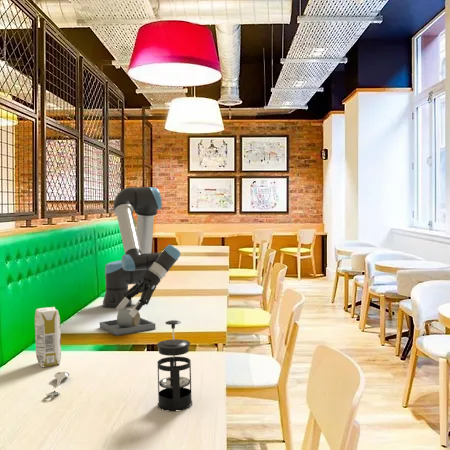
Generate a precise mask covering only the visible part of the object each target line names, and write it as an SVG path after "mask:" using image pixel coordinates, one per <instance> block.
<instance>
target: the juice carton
mask: <svg viewBox="0 0 450 450" xmlns="http://www.w3.org/2000/svg"><path fill="white" fill-rule="evenodd" d="M59 313H60V312H59V310H58V309H56V307H55V306H50V307H48V306H47V307H40V308H36V309H35V315H34V330H35V331H34V335H35V338H34V339H35V355H36V360H37V363H38V364H39V365H40V368H44V367H43V366H49V367H52V366H51V365H55V366H58V365H57V364H61V360H62V344H61V343H62V339H61V337H62V335H61V317H60V314H59Z"/></svg>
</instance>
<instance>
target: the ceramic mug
mask: <svg viewBox="0 0 450 450" xmlns="http://www.w3.org/2000/svg"><path fill="white" fill-rule="evenodd" d="M131 310H132V309H126V308H124V309H120V310H119V311H118V312H117V316H116V320H117V324H118V326H120V327H134V326H138V324H139V323H140V318H141V314H140V311H138V313H137V314H136V315H135V316H134V318H133V317H132V316H131V315H129V312H130V311H131Z"/></svg>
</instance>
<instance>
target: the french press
mask: <svg viewBox="0 0 450 450" xmlns="http://www.w3.org/2000/svg"><path fill="white" fill-rule="evenodd" d="M181 323H182V321H180V320H176V319H175V320H174V319H171V320H167V321H165V324H166V325H169V326H170V325H171V329H172V339H166V340H161V341H159V342H157V344H156V346H157V348H158V354H160V355H162V356H168V357H164V358H160V359H158V361H157V388H158V390H157V392H158V394H157V395H158V397H157V399H158V403H157V407H158V408H159V409H160V410H162V409H163V410H162V411H165V410H169V411H168V412H177V411H176V410H181V411H184V410H183V409H185V410H187V409H186V408H188V409H189V407H190V406H191V405H192V406H193V400H192V372H191V371H192V369H191V368H192V364H191V359H190V358H188V357H184V356H181V355H184V354H187V353H189V346H190V345H191V342H190V341H189V340H186V339H179V338H177V339H176V338H175V329H176V325H180V324H181ZM177 362H183V363H185V364H182V365H177ZM166 363H169V365H163V364H166ZM187 369H189V378H188V377H184V376H181V375H180V371H185V370H187ZM160 370H161V371H162V372H163V371H164V372H169V374H170V376H168V377H164V378H162V379H160V372H159V371H160ZM187 386H189V388H187ZM160 387H161V388H163V389H161V390H160ZM192 406H191V407H192ZM191 407H190V408H191Z"/></svg>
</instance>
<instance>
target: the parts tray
mask: <svg viewBox="0 0 450 450" xmlns="http://www.w3.org/2000/svg"><path fill="white" fill-rule="evenodd" d="M99 328H100V329H102V330H103V331H105V330H106V332H107V331H108V333H110V334H112V335H114V336H115V337H119V336H125V335H129V334H135V333H142V332H148V331H153V330H156V328H157V327H156V323H155V322H154V321H150V320H148V319H145V318H142V317H140V323H139V324H138V326H134V327H120V326H118V324H117V319H113V320H106V321H100V322H99Z"/></svg>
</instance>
